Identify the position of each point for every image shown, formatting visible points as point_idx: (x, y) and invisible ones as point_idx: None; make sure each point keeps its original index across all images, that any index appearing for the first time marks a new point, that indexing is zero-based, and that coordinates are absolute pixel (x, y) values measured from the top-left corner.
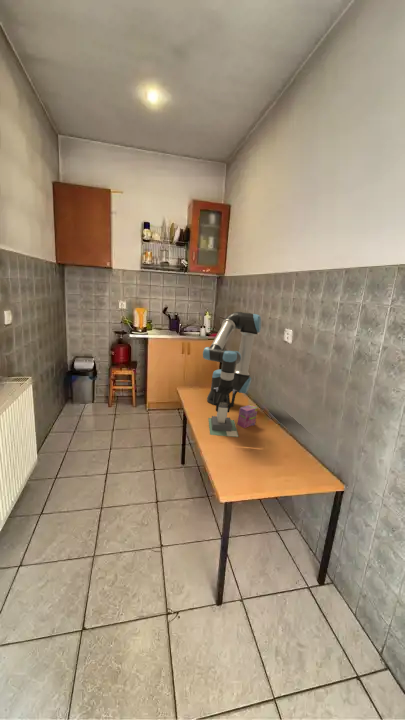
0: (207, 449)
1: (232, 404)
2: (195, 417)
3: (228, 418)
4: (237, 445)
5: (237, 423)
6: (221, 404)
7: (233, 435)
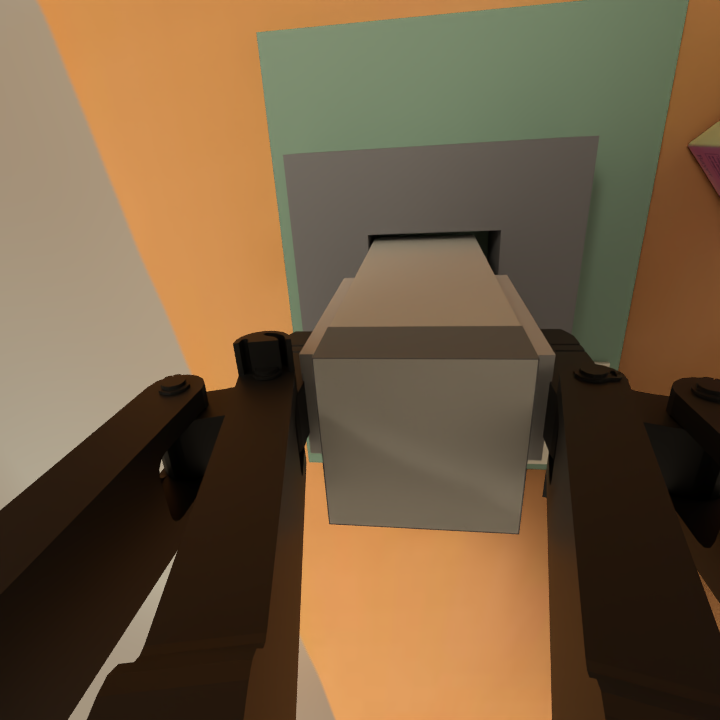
0: (306, 610)
1: (700, 535)
2: (88, 39)
3: (560, 182)
4: (547, 558)
5: (703, 149)
6: (363, 499)
7: (545, 456)
